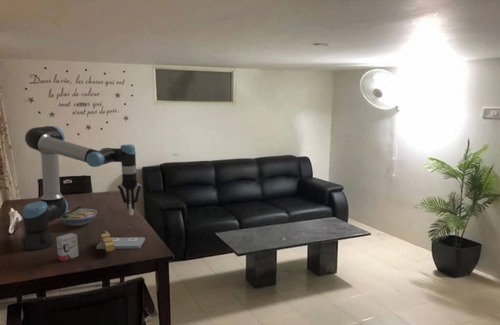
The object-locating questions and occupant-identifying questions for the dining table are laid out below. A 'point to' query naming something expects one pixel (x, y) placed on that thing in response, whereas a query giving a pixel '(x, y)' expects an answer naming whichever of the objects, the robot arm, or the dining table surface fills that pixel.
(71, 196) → the dining table surface
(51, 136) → the robot arm
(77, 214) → the ramen bowl
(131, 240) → the power panel
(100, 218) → the dining table surface
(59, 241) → the ink box
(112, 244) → the banded tan post
